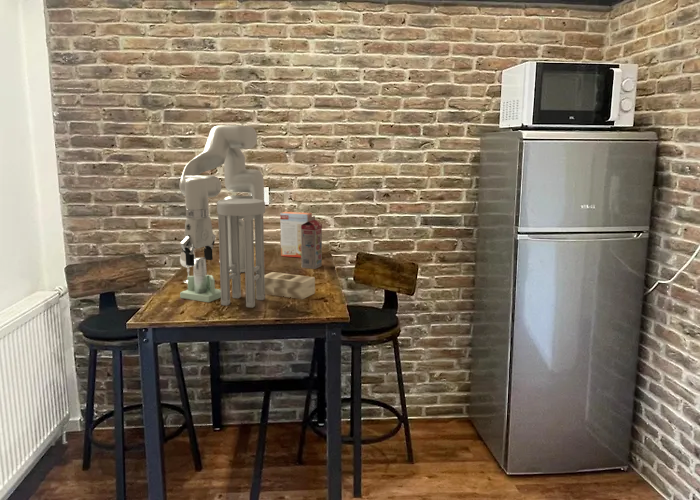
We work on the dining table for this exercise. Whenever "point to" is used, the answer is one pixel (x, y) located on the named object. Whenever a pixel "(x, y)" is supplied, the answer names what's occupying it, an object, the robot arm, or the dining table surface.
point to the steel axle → (200, 275)
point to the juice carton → (311, 244)
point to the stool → (234, 211)
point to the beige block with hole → (289, 285)
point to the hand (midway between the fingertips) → (199, 262)
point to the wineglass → (183, 263)
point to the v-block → (205, 297)
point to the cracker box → (292, 232)
